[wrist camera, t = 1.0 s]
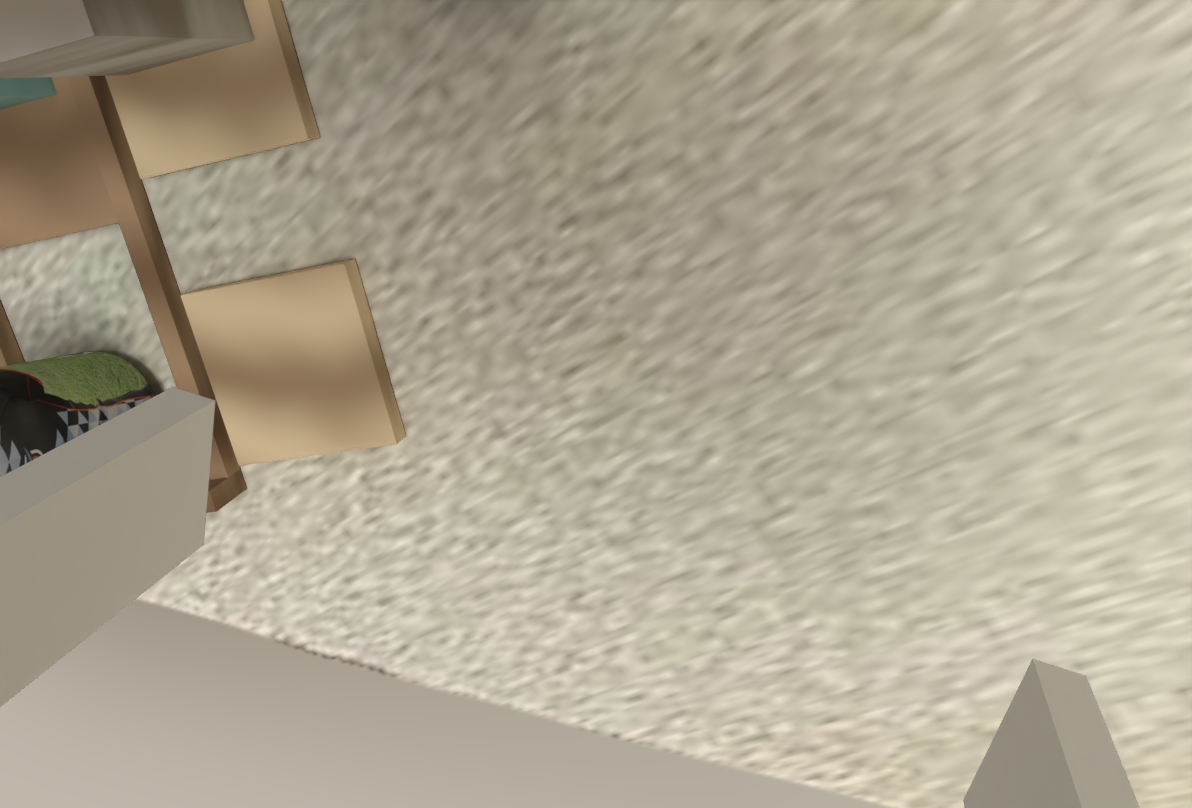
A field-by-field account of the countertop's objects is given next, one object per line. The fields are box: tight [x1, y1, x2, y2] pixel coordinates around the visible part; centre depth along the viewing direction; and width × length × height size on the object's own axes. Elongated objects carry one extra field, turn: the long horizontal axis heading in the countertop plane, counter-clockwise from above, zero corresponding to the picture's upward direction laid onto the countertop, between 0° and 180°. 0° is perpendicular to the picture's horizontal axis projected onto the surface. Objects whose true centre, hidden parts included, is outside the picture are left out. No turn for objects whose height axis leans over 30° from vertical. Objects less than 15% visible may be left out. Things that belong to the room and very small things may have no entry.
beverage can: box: [0, 351, 155, 477], centre depth 40 cm, size 6×7×12 cm
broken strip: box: [0, 0, 406, 466], centre depth 37 cm, size 21×8×10 cm, turn 12°
